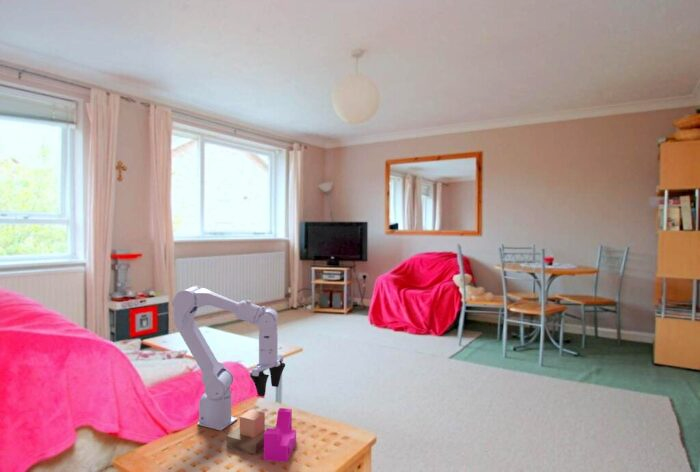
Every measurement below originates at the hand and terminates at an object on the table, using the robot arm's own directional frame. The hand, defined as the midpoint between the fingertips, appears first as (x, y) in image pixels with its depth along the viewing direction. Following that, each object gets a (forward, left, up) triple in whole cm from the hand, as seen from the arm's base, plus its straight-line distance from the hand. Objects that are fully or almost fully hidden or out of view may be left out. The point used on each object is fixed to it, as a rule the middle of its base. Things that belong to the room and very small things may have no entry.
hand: (268, 390), depth 131 cm
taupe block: (+2, -11, -10) cm, 15 cm away
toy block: (+11, -9, -11) cm, 18 cm away
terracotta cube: (+2, -11, -7) cm, 13 cm away
